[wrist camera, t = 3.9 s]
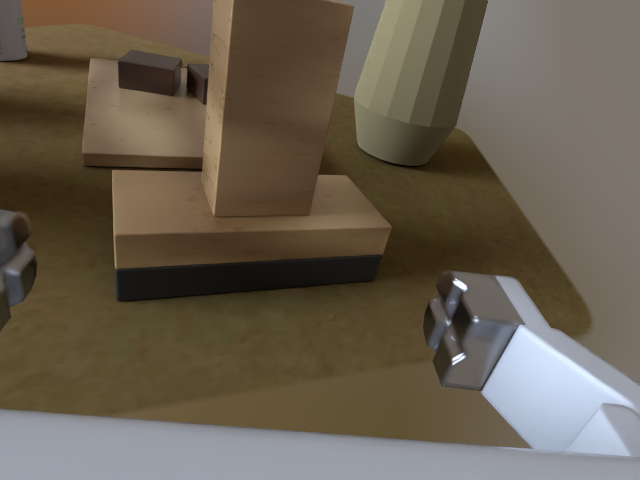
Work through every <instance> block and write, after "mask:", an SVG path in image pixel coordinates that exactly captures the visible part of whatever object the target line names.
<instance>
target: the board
mask: <svg viewBox="0 0 640 480" xmlns="http://www.w3.org/2000/svg"><path fill="white" fill-rule="evenodd" d="M186 85H187V69H186V68H182V69H181V83H180V85H179V87H178V89H177V90H176V92H175V94H174V96H168V95H161V94H155V93H149V92H143V91H137V90H131V89H125V88H119V85H118V61H114V60H105V59H96V58H91V59H90V68H89V79H88V90H87V100H86V111H85V122H84V133H83V143H82V165H83V166H109V167H147V168H185V169H202V164H203V150H204V135H205V121H206V106H207V105H203V104H202V103H201V102H200V101H199V100H198V99H197V98H196V97H195V96H194V95H193V94H192V93H191V92H190V91H189V90H188V89H187V88H186Z"/></svg>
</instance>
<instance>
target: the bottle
mask: <svg viewBox="0 0 640 480" xmlns="http://www.w3.org/2000/svg"><path fill="white" fill-rule="evenodd" d="M26 57H27V46H26V39H25V31H24V23H23V16H22V9H21V0H0V61H14V60H20V59H24V58H26Z"/></svg>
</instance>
